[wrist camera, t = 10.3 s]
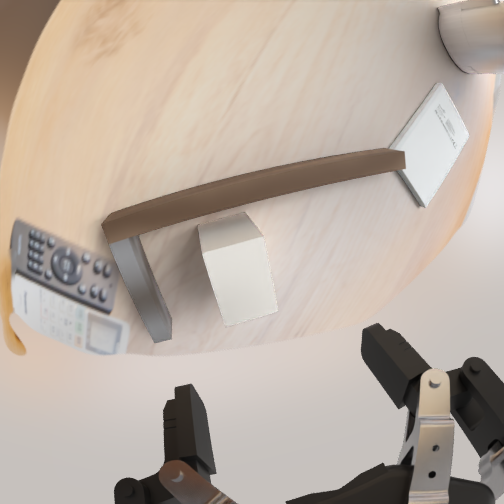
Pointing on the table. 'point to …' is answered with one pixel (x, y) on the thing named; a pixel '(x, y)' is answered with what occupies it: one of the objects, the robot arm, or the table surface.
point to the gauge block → (238, 268)
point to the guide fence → (217, 199)
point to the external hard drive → (431, 144)
